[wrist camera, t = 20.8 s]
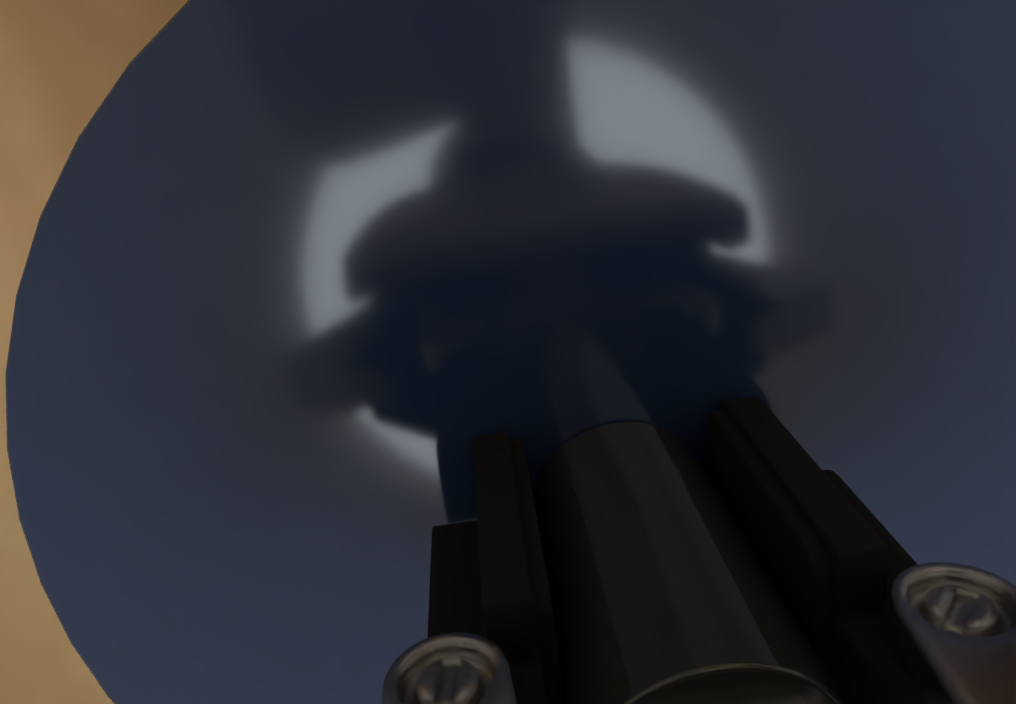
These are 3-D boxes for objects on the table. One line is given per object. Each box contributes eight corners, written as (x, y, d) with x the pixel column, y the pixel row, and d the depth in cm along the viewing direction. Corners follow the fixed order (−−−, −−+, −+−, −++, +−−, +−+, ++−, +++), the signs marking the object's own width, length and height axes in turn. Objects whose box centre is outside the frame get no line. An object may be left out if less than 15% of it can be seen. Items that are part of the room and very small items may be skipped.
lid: (1240, -243, 10) (2264, -613, 4) (1057, 771, 17) (1372, 1150, 11) (-161, -60, 10) (-1010, -201, 4) (214, 898, 17) (87, 1353, 11)
